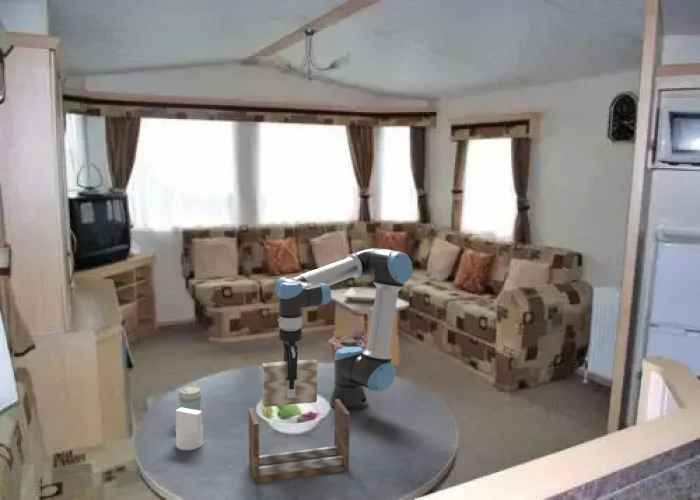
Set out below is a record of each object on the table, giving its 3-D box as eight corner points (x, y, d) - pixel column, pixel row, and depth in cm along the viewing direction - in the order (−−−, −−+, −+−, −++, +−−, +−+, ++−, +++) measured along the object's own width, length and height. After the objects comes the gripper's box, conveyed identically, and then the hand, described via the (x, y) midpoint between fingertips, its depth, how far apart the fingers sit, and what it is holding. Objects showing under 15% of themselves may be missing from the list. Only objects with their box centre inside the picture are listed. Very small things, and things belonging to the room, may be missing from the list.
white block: (208, 440, 203) (207, 407, 202) (193, 452, 195) (192, 418, 193) (186, 436, 206) (185, 403, 204) (170, 447, 198) (169, 414, 196)
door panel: (314, 398, 201) (315, 359, 199) (316, 402, 198) (317, 362, 196) (262, 402, 196) (262, 363, 194) (263, 407, 193) (263, 366, 191)
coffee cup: (181, 415, 223) (180, 385, 221) (204, 415, 223) (203, 385, 222) (176, 425, 214) (176, 394, 212) (200, 424, 215) (199, 394, 213)
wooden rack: (338, 452, 196) (339, 398, 194) (348, 470, 185) (349, 413, 182) (249, 464, 188) (248, 408, 185) (254, 483, 176) (253, 424, 174)
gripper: (275, 322, 200) (275, 387, 204) (283, 335, 184) (283, 405, 188) (296, 320, 202) (296, 385, 206) (306, 334, 187) (305, 403, 190)
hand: (289, 394), depth 197 cm, fingers closed on door panel, 3 cm apart
